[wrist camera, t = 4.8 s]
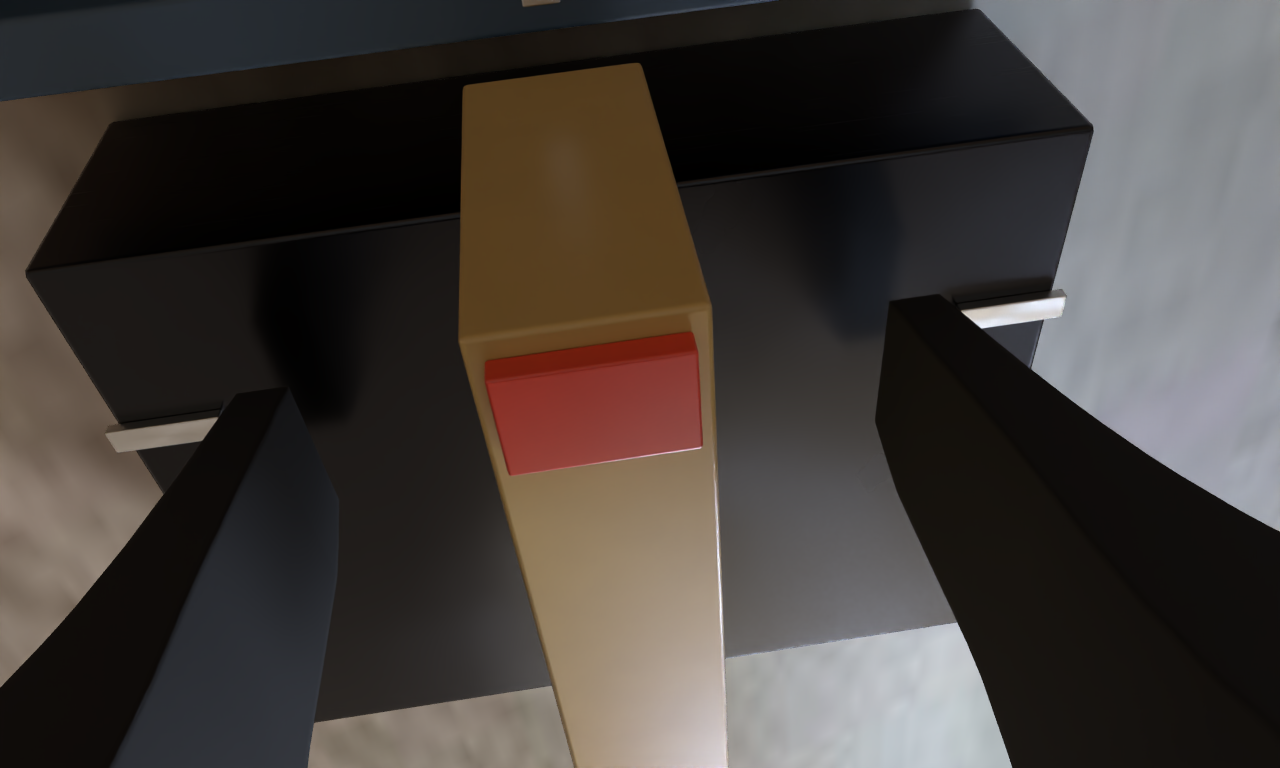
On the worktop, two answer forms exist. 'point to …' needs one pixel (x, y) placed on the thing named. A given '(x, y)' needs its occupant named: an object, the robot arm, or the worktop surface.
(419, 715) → the worktop surface
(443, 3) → the tray
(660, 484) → the yellow-brown long block
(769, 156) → the black cupboard
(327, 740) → the worktop surface
